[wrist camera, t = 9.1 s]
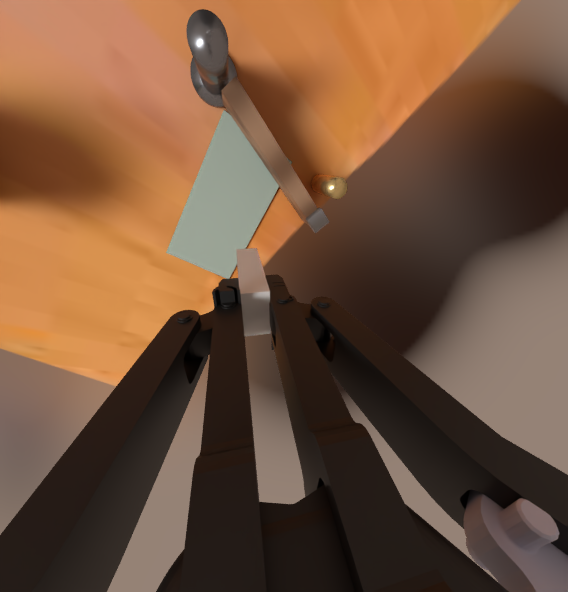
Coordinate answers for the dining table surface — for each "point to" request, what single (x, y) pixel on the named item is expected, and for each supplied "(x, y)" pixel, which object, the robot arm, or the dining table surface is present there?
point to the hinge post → (209, 56)
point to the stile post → (329, 185)
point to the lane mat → (223, 202)
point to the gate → (271, 153)
